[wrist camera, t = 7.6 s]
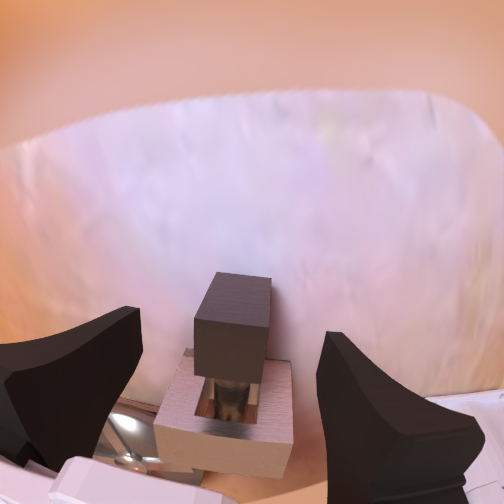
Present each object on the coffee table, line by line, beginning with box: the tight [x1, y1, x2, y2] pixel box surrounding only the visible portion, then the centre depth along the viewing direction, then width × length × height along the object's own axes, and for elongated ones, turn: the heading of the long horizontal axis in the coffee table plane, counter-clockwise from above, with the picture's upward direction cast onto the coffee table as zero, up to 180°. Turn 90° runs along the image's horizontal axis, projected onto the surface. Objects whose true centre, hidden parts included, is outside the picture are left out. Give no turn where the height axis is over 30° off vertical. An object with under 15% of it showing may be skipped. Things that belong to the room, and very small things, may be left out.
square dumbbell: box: [194, 272, 272, 474], centre depth 15 cm, size 3×11×5 cm, turn 175°
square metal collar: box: [153, 348, 293, 479], centre depth 15 cm, size 6×3×6 cm, turn 85°
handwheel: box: [92, 402, 204, 486], centre depth 17 cm, size 12×10×4 cm
